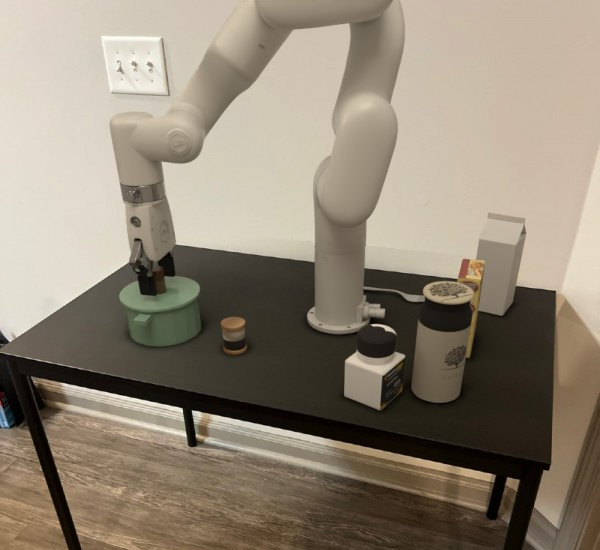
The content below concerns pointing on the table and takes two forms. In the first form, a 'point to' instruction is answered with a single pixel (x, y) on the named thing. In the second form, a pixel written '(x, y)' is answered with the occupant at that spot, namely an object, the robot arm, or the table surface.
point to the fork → (408, 297)
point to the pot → (164, 325)
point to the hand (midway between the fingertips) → (158, 284)
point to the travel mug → (442, 341)
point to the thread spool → (234, 335)
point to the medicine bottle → (374, 368)
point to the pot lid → (161, 293)
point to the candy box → (473, 278)
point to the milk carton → (500, 261)
